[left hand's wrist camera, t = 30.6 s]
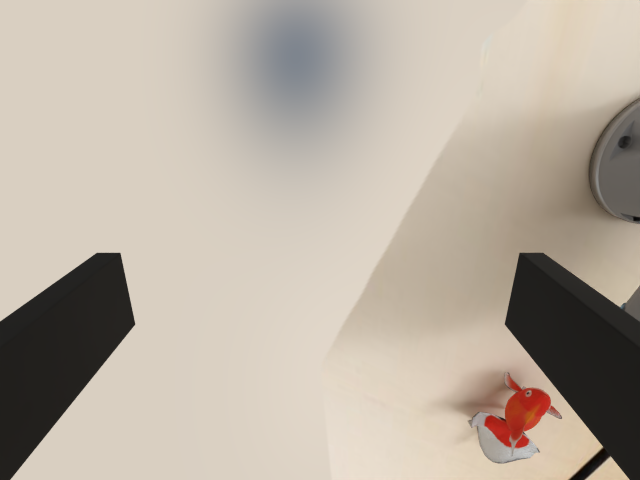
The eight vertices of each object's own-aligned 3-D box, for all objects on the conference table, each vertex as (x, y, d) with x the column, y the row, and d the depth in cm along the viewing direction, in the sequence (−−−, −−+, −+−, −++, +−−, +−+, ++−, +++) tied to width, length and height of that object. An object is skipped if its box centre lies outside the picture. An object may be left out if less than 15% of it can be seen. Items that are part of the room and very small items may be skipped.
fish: (594, 411, 52) (596, 477, 44) (503, 435, 62) (493, 492, 55) (534, 355, 52) (527, 411, 45) (454, 388, 63) (438, 439, 56)
